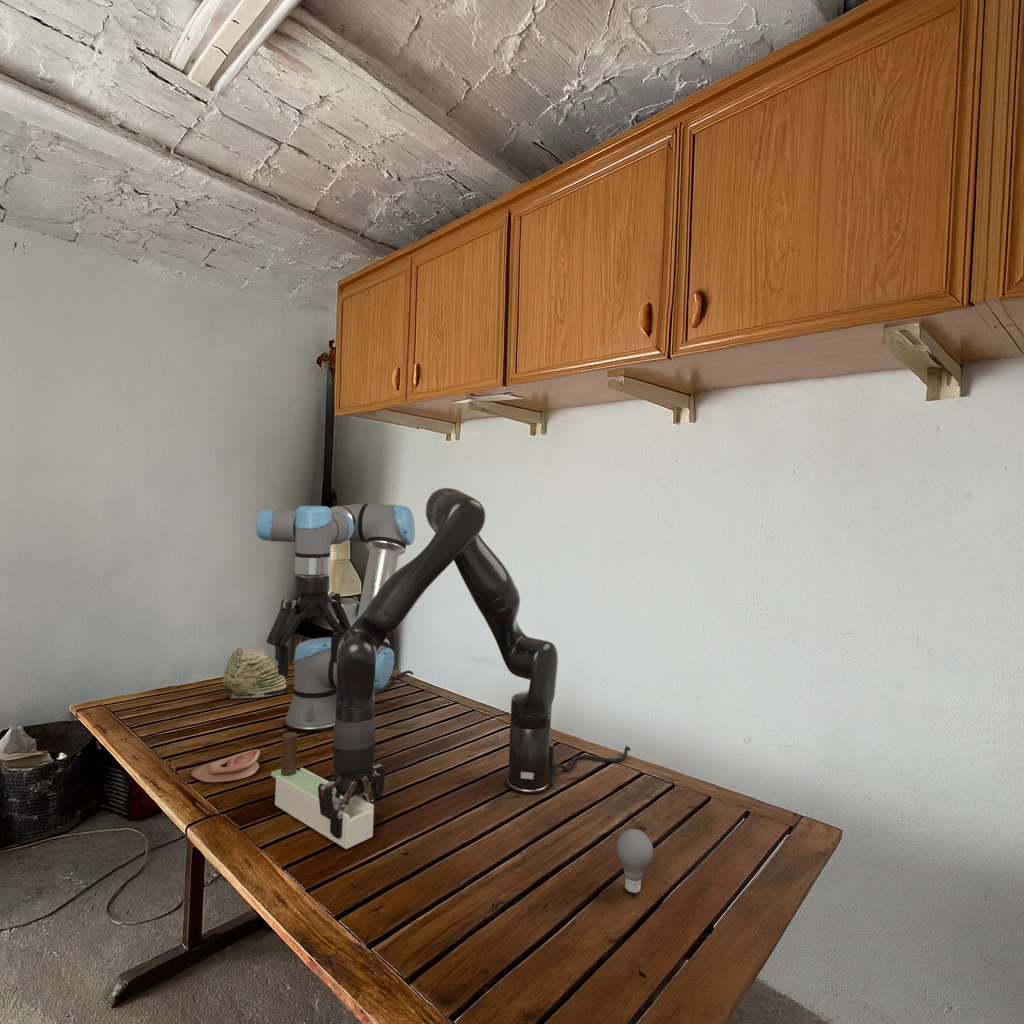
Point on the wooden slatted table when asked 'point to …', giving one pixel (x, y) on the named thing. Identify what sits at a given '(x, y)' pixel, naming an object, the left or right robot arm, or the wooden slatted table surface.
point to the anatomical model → (229, 768)
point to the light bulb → (634, 857)
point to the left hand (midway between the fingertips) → (310, 668)
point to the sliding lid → (294, 766)
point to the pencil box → (308, 811)
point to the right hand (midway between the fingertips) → (351, 829)
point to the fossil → (252, 674)
